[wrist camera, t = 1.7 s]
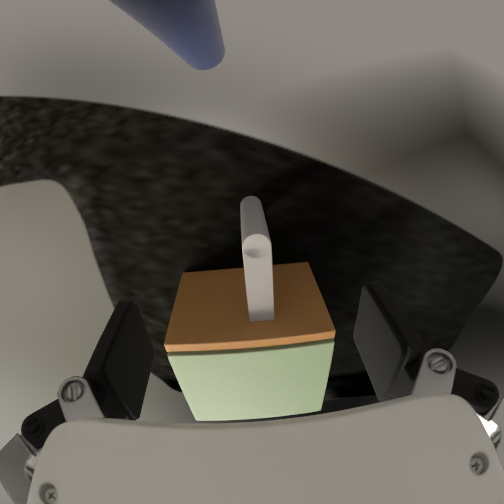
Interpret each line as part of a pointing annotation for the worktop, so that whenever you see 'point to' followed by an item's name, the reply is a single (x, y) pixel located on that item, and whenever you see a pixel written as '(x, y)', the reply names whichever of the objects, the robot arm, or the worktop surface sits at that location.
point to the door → (248, 299)
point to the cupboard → (254, 380)
